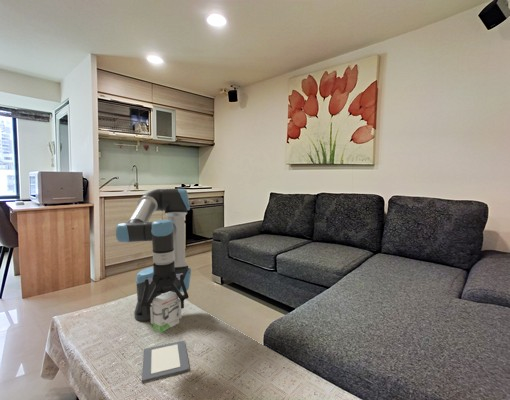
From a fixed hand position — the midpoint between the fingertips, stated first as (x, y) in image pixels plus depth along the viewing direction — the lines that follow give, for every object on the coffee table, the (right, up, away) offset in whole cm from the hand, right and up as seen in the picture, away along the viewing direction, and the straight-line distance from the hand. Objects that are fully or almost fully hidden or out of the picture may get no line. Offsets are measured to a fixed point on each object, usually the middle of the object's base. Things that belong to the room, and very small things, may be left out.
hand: (166, 319), depth 103 cm
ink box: (0, -3, 0) cm, 3 cm away
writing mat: (-1, -16, +1) cm, 16 cm away
